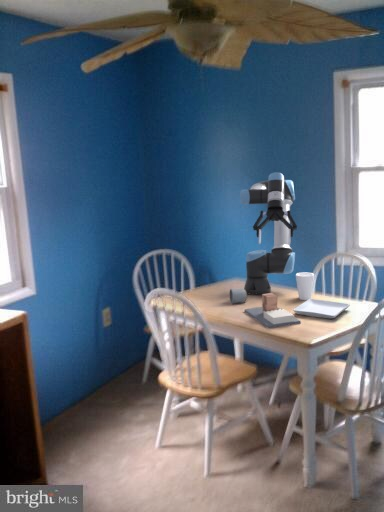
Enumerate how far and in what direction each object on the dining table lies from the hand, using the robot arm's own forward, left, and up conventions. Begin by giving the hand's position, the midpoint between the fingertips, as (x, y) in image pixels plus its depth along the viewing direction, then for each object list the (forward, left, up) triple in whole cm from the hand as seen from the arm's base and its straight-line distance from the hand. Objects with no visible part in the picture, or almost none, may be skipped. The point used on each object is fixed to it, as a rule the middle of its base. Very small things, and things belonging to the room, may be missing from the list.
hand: (274, 243), depth 244 cm
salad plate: (+2, +23, -36) cm, 43 cm away
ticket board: (-1, -2, -36) cm, 36 cm away
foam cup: (-24, +28, -36) cm, 52 cm away
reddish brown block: (-3, -2, -34) cm, 34 cm away
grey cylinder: (-33, -7, -36) cm, 50 cm away
